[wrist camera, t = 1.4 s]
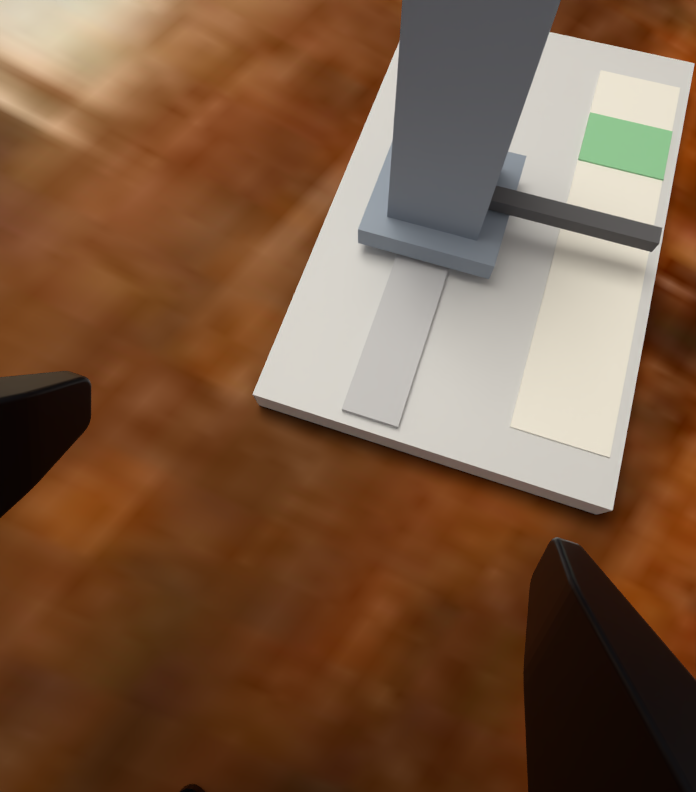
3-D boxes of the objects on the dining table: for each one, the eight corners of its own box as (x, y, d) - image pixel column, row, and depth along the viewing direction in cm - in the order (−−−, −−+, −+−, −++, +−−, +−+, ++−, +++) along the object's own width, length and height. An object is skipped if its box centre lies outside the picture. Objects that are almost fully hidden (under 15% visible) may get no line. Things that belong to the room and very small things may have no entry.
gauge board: (596, 514, 22) (615, 509, 20) (259, 405, 24) (251, 392, 22) (678, 88, 29) (698, 58, 27) (412, 29, 31) (416, -3, 29)
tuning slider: (628, 317, 22) (904, 53, 11) (358, 243, 24) (354, -59, 12) (650, 204, 24) (908, -125, 13) (397, 141, 26) (426, -205, 14)
